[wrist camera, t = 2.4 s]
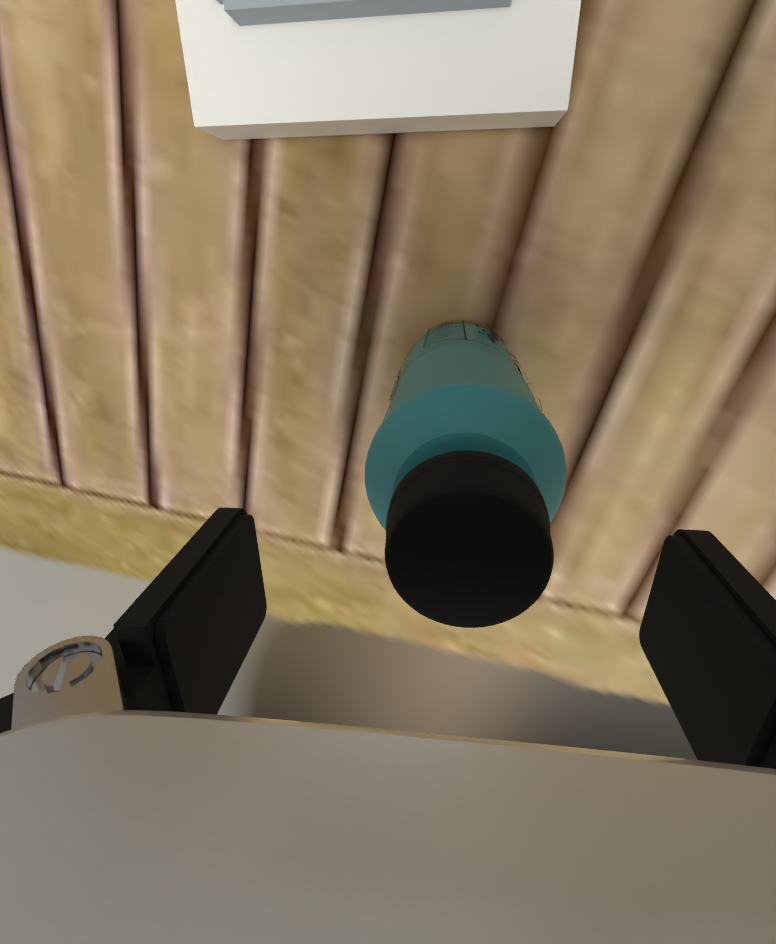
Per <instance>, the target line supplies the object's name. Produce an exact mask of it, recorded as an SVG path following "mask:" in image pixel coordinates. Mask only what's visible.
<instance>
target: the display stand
mask: <svg viewBox="0 0 776 944" xmlns="http://www.w3.org/2000/svg"><path fill="white" fill-rule="evenodd" d="M175 1H176V8H177V14H178V21H179V28H180V34H181V41H182V47H183V54H184V61H185V67H186V74H187V80H188V87H189V94H190V100H191V107H192V113H193V120H194V127H196V128H198V129H200V130H202V131H204V132H206V133H209V134H211V135H213V136H215V137H217V138H219V139H221V140H238V139H262V138H287V137H311V136H335V135H360V134H384V133H408V132H433V131H457V130H481V129H506V128H530V127H554V126H555V125H556V124H557V123H558V121H559V120H560V119H561V118H562V116H563V115H564V114H565V113H566V112H567V110H568V103H569V95H570V87H571V79H572V71H573V63H574V55H575V47H576V38H577V30H578V22H579V14H580V6H581V0H175Z"/></svg>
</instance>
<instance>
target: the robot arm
mask: <svg viewBox="0 0 776 944" xmlns="http://www.w3.org/2000/svg"><path fill="white" fill-rule="evenodd" d="M266 607H267V605H266V597H265V591H264V584H263V577H262V570H261V564H260V557H259V550H258V543H257V537H256V530H255V523H254V518H253V516H252V515H247V513H246V511H245V510H244V509H242V508H218V509H217V510H216V511H215V512H214V513H213V514H212V516H211V517H210V518H209V519H208V520H207V521H206V522H205V523H204V524H203V526H202V527H201V528H200V529H199V530H198V531H197V532H196V533H195V535H194V536H193V537H192V538H191V539H190V540H189V541H188V542H187V543H186V545H185V546H184V547H183V548H182V549H181V550H180V551H179V552H178V553H177V555H176V556H175V557H174V558H173V559H172V560H171V561H170V562H169V564H168V565H167V566H166V567H165V568H164V569H163V570H162V571H161V572H160V574H159V575H158V576H157V577H156V578H155V579H154V580H153V581H152V582H151V584H150V585H149V586H148V587H147V588H146V589H145V590H144V591H143V593H142V594H141V595H140V596H139V597H138V598H137V599H136V600H135V602H134V603H133V604H132V605H131V606H130V607H129V608H128V609H127V610H126V612H125V613H124V614H123V615H122V616H121V617H120V618H119V619H118V621H117V622H116V623H115V624H114V629H113V630H112V631H111V632H110V633H109V634H108V635H107V637H106V638H105V639H103V638H102V637H97V636H79V637H75V638H72V639H67V640H64V641H61V642H59V643H57V644H55V645H52V646H50V647H48V648H47V649H45V650H44V651H42V652H40V653H39V654H37V655H36V656H35V657H34V658H32V659H31V660H30V661H29V662H28V663H27V664H26V665H25V666H24V667H23V668H22V670H21V671H20V672H19V674H18V675H17V678H16V681H15V684H14V693H12V694H10V695H8V696H5V697H3V698H1V699H0V944H776V600H775V599H774V598H773V597H772V596H771V595H770V594H769V593H768V592H767V591H766V590H765V589H764V588H763V586H762V585H761V584H760V583H759V582H758V581H757V580H756V579H755V578H754V577H753V576H752V575H751V574H750V573H749V572H748V571H747V570H746V569H745V568H744V567H743V565H742V564H741V563H740V562H739V561H738V560H737V559H736V558H735V557H734V556H733V555H732V554H731V553H730V552H729V551H728V550H727V549H726V548H725V547H724V546H723V544H722V543H721V542H720V541H719V540H718V539H717V538H716V537H715V536H714V535H713V534H712V533H711V532H709V531H702V530H681V529H679V530H677V531H676V532H675V533H674V535H673V536H667V538H666V539H665V541H664V544H663V548H662V552H661V555H660V559H659V562H658V566H657V570H656V573H655V577H654V580H653V584H652V588H651V591H650V595H649V598H648V602H647V606H646V609H645V613H644V616H643V620H642V623H641V627H640V632H639V638H640V644H641V647H642V649H643V651H644V653H645V655H646V657H647V659H648V661H649V663H650V665H651V667H652V669H653V671H654V673H655V675H656V677H657V679H658V681H659V683H660V685H661V687H662V689H663V691H664V693H665V695H666V697H667V699H668V701H669V703H670V705H671V707H672V709H673V711H674V713H675V715H676V717H677V719H678V721H679V723H680V725H681V727H682V729H683V731H684V733H685V735H686V737H687V739H688V741H689V743H690V745H691V747H692V749H693V751H694V753H695V755H696V757H697V759H698V760H692V759H683V758H673V757H663V756H653V755H643V754H633V753H623V752H614V751H603V750H594V749H584V748H574V747H564V746H554V745H544V744H533V743H524V742H523V743H522V742H514V741H503V740H493V739H482V738H472V737H461V736H451V735H440V734H430V733H419V732H408V731H398V730H388V729H376V728H365V727H355V726H342V725H332V724H320V723H310V722H309V723H308V722H299V721H287V720H276V719H265V718H254V717H241V716H228V715H217V713H218V711H219V709H220V707H221V705H222V703H223V701H224V699H225V697H226V695H227V693H228V691H229V689H230V687H231V685H232V683H233V681H234V679H235V677H236V675H237V673H238V671H239V669H240V667H241V665H242V663H243V661H244V659H245V657H246V655H247V653H248V651H249V649H250V647H251V645H252V642H253V641H254V638H255V637H256V635H257V633H258V631H259V629H260V627H261V625H262V623H263V621H264V618H265V615H266Z"/></svg>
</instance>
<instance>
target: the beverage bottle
mask: <svg viewBox="0 0 776 944" xmlns="http://www.w3.org/2000/svg"><path fill="white" fill-rule="evenodd" d="M470 322H471V321H470ZM451 323H452V324H449V323H448V324H447V322H446V323H445V324H447V325H444V324H443V323H442V324H443V326H441V325H440V327H437V328H435V329H433V330H431V332H430V331H429V330H430V329H429V330H428V333H427V334H426V335H425V336H424V337H423V338H421V339H420V340H419V342H418V343H417V344H416V345H415V346H414V348H413V349H412V351H411V353H410V355H409V356H408V359H407V361H406V364H405V367H404V369H403V372H402V374H401V377H400V376H399V377H398V378H400V379H399V382H397V383H398V385H397V387H396V390H394V391H395V393H394V397H393V399H391V400H390V399H389V400H390V401H391V402H390V403H391V404H390V406H388V407H389V409H388V411H387V413H386V416H385V418H384V420H383V423H382V424H381V426H380V427H379V429H378V431H377V432H376V434H375V436H374V438H373V440H372V443H371V445H370V448H369V451H368V455H367V459H366V465H365V486H366V491H367V496H368V499H369V502H370V505H371V507H372V509H373V512H374V514H375V516H376V517H377V519H378V521H379V522H380V524H381V525H382V527H383V528H384V529H385V530H386V545H385V562H386V568H387V571H388V574H389V577H390V580H391V582H392V584H393V586H394V588H395V590H396V591H397V593H398V594H399V595H400V597H401V598H402V599H403V600H404V601H405V602H406V603H407V604H408V605H409V606H410V607H412V608H413V609H414V610H416V611H417V612H418V613H420V614H422V615H423V616H425V617H427V618H429V619H432V620H434V621H436V622H440V623H443V624H446V625H451V626H456V627H465V628H476V627H486V626H492V625H496V624H499V623H502V622H505V621H507V620H510V619H512V618H514V617H516V616H518V615H520V614H521V613H522V612H524V611H525V610H527V609H528V608H529V607H530V606H531V605H532V604H534V603H535V601H536V600H537V599H538V598H539V597H540V595H541V594H542V592H543V591H544V590H545V588H546V586H547V584H548V581H549V579H550V576H551V572H552V568H553V561H554V551H553V545H552V540H551V535H550V523H551V521H552V520H553V518H554V517H555V515H556V513H557V511H558V509H559V507H560V504H561V501H562V498H563V495H564V491H565V485H566V474H567V468H566V460H565V455H564V451H563V447H562V445H561V442H560V440H559V438H558V436H557V433H556V431H555V430H554V428H553V426H552V425H551V423H550V422H549V420H548V419H547V418H546V417H545V416H544V415H545V414H543V413H542V409H541V410H540V408H539V407H538V405H537V403H536V401H535V399H534V397H533V395H532V393H531V391H530V389H529V387H528V385H527V383H526V382H525V380H524V378H523V377H522V374H521V372H520V369H519V367H518V365H517V363H515V362H514V361H515V360H514V361H513V360H512V358H511V356H510V355H511V354H510V355H509V353H508V351H507V350H506V348H505V347H504V345H503V344H502V343H501V341H500V340H499V339H498V338H497V336H498V335H497V336H496V334H495V333H496V332H494V333H493V332H492V331H490V330H489V331H490V332H489V331H488V330H486V329H484V328H482V324H481V327H479V323H478V325H473V324H468V323H464V321H463V323H454V324H453V322H451ZM475 323H476V322H475ZM499 337H500V336H499ZM500 338H501V337H500ZM501 340H502V339H501ZM502 341H503V340H502ZM506 345H507V344H506ZM510 351H511V350H510ZM512 354H513V353H512ZM512 356H514V355H512ZM514 357H515V356H514ZM514 357H513V358H514ZM515 359H516V358H515ZM517 362H518V361H517ZM518 364H519V363H518ZM516 366H517V367H518V368H517V367H516ZM401 367H402V366H401ZM520 367H521V366H520ZM399 371H400V370H399ZM399 373H400V372H399ZM399 375H400V374H399ZM525 377H526V375H525ZM527 379H528V378H527ZM397 380H398V379H397ZM397 383H396V384H397ZM529 384H530V383H529ZM395 386H396V385H394V387H395ZM392 390H393V389H392ZM391 392H393V391H391ZM392 395H393V394H392ZM391 397H392V396H391ZM539 400H540V399H539ZM540 404H541V403H540Z"/></svg>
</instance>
